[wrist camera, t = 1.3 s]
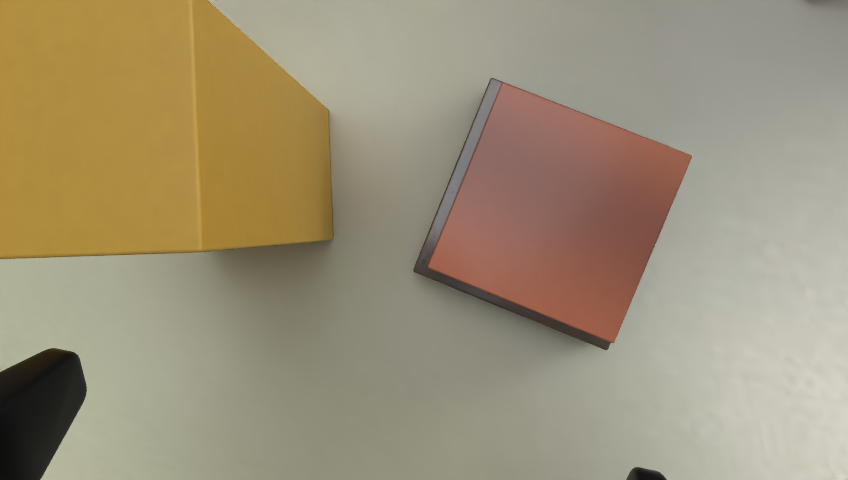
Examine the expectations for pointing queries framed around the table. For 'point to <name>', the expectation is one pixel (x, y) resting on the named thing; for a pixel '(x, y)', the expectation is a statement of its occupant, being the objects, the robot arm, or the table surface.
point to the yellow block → (151, 134)
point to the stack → (551, 213)
